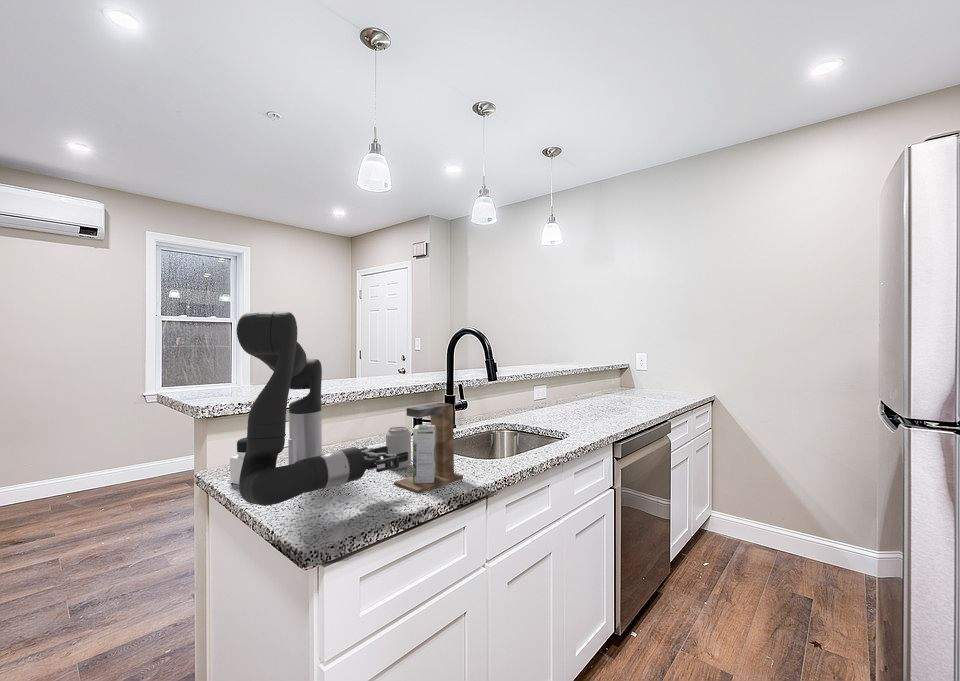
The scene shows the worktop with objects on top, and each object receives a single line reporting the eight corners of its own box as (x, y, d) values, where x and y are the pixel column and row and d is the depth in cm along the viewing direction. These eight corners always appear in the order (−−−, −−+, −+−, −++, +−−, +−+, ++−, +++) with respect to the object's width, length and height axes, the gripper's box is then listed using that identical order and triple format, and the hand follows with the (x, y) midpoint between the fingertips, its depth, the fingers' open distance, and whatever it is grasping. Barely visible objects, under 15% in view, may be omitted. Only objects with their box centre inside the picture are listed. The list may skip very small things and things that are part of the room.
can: (405, 471, 127) (405, 430, 127) (382, 470, 129) (381, 430, 129) (414, 464, 135) (414, 425, 135) (392, 462, 136) (391, 425, 136)
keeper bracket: (418, 493, 109) (417, 412, 109) (394, 484, 116) (393, 408, 116) (462, 477, 121) (461, 404, 121) (438, 470, 127) (437, 401, 127)
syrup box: (414, 477, 119) (414, 424, 119) (436, 476, 120) (435, 424, 120) (412, 484, 114) (411, 429, 114) (435, 483, 114) (434, 428, 114)
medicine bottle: (244, 487, 115) (243, 442, 115) (229, 482, 119) (229, 439, 119) (269, 479, 122) (268, 436, 121) (254, 475, 125) (254, 434, 125)
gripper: (356, 456, 93) (414, 442, 105) (323, 445, 103) (380, 434, 115) (356, 490, 93) (415, 472, 106) (323, 477, 103) (380, 462, 115)
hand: (396, 452), depth 110 cm, fingers open, 8 cm apart
